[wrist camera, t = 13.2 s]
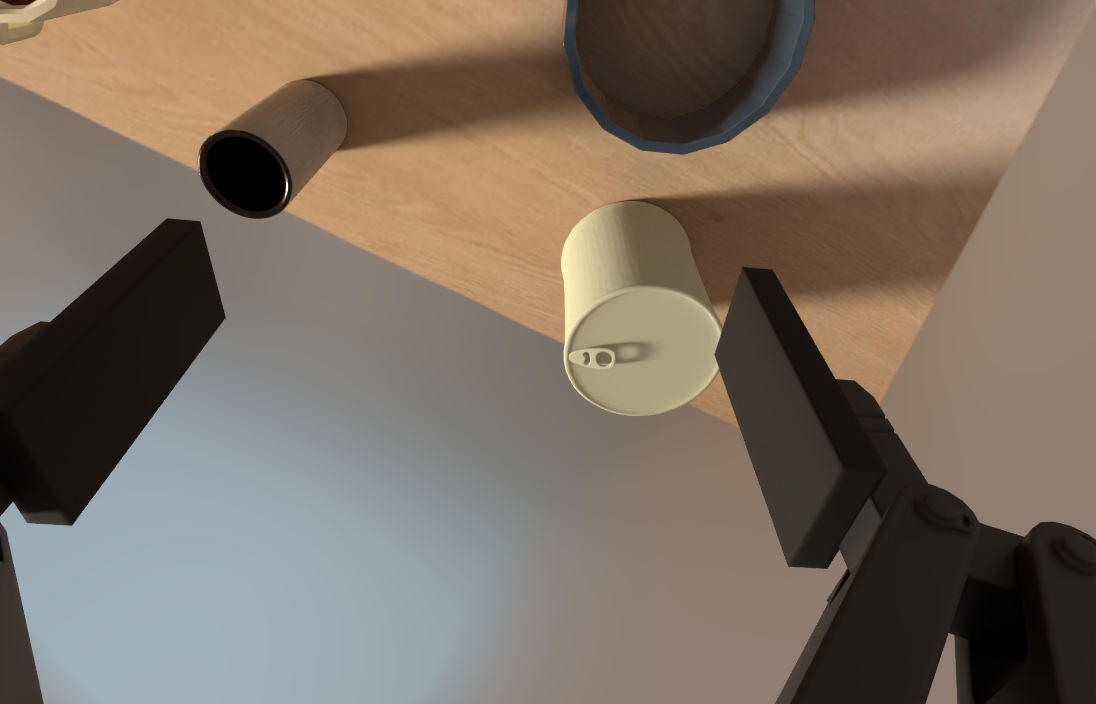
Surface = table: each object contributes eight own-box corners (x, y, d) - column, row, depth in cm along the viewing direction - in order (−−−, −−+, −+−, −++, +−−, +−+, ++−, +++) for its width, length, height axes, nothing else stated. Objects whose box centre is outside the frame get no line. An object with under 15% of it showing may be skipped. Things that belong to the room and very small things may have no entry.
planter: (265, 130, 39) (187, 191, 31) (286, 63, 37) (208, 110, 29) (333, 167, 41) (276, 235, 32) (358, 104, 38) (304, 161, 30)
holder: (518, -2, 35) (513, 11, 31) (710, -186, 30) (735, -200, 26) (643, 167, 41) (653, 196, 37) (822, 33, 36) (856, 49, 32)
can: (560, 201, 42) (561, 291, 32) (697, 198, 42) (740, 288, 32) (562, 317, 47) (564, 424, 38) (684, 314, 47) (717, 421, 37)
